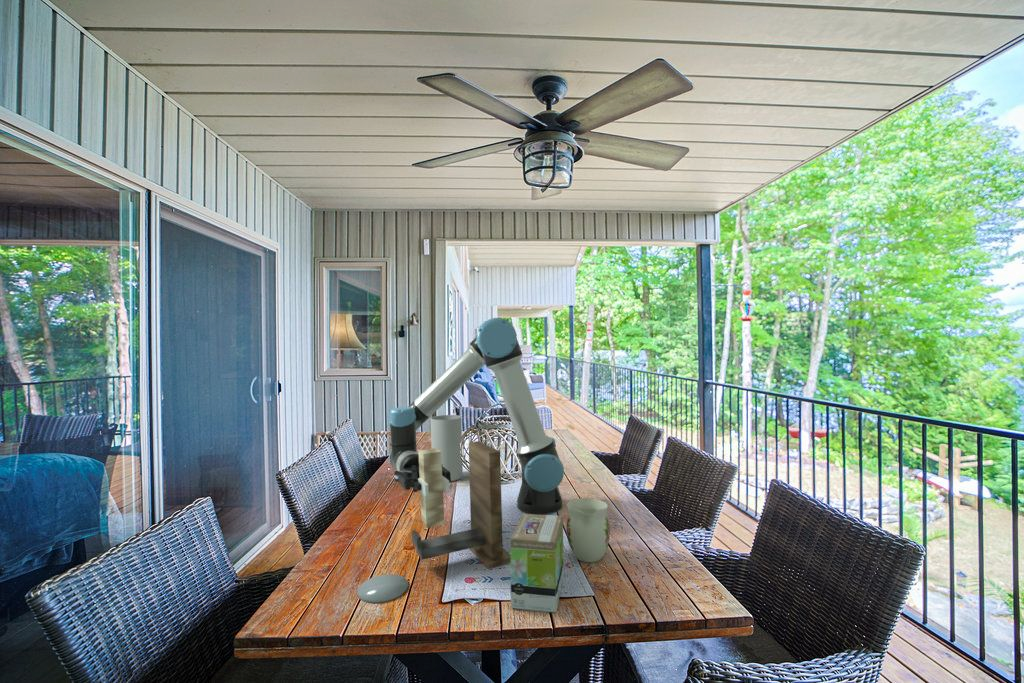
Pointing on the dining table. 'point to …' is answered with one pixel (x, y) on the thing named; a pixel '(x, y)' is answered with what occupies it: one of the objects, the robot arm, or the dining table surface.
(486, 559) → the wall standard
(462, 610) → the dining table surface
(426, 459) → the cedar rail
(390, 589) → the slate coaster
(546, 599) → the tea box
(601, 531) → the pitcher
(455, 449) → the cylinder vase
